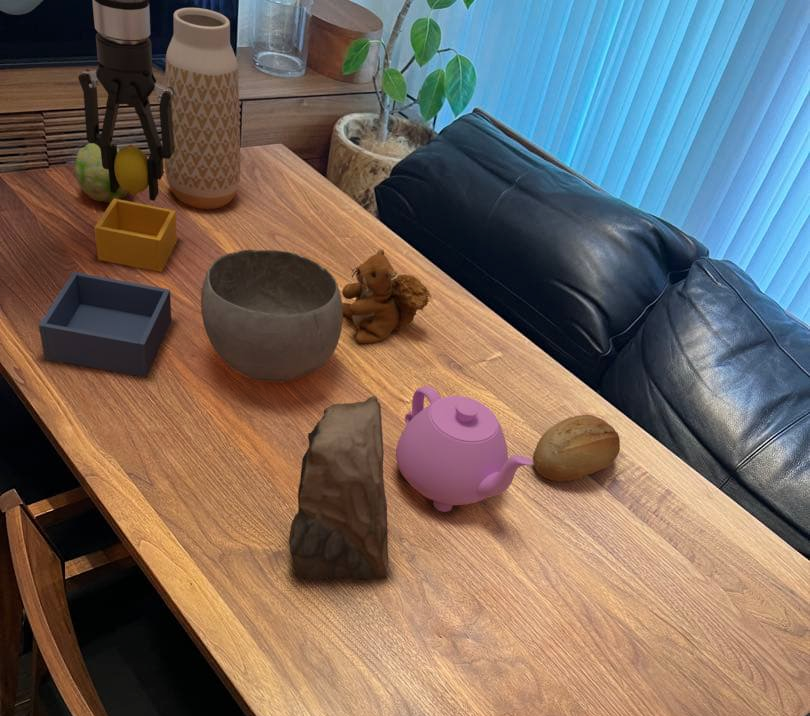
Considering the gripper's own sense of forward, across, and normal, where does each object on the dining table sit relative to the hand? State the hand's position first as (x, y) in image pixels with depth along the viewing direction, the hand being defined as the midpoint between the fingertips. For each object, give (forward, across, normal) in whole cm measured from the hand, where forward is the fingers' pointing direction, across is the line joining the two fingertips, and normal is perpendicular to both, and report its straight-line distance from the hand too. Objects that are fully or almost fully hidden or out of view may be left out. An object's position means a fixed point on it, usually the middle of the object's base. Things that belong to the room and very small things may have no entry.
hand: (134, 192), depth 131 cm
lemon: (+1, 0, 0) cm, 1 cm away
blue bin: (+10, -3, +26) cm, 28 cm away
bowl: (+11, -27, +25) cm, 38 cm away
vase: (+11, -6, -23) cm, 26 cm away
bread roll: (+11, -75, +36) cm, 84 cm away
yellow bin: (+10, 0, 0) cm, 10 cm away
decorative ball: (+11, +10, -15) cm, 21 cm away
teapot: (+11, -56, +45) cm, 73 cm away
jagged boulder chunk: (+11, -42, +61) cm, 75 cm away
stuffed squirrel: (+11, -43, +9) cm, 45 cm away
